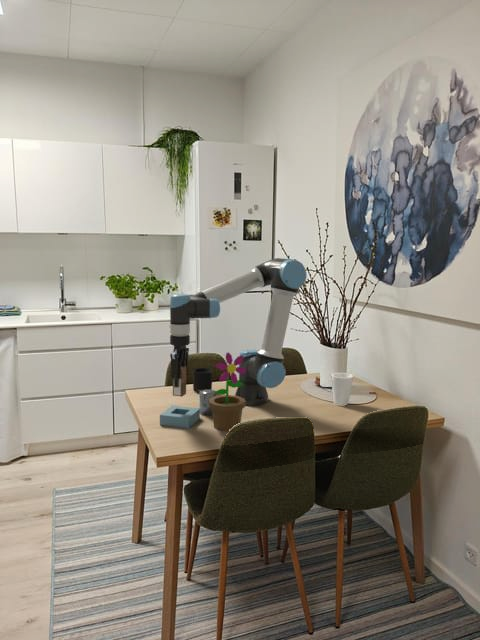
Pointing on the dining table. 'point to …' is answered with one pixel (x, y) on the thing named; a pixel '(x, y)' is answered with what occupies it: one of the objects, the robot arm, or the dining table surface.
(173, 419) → the bore block
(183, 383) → the square peg
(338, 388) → the foam cup
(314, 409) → the dining table surface
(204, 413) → the round peg
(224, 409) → the flowerpot
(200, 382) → the pen holder
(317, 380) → the toy sandwich meal
